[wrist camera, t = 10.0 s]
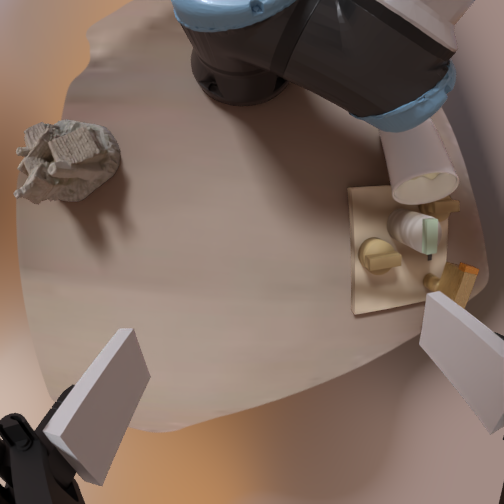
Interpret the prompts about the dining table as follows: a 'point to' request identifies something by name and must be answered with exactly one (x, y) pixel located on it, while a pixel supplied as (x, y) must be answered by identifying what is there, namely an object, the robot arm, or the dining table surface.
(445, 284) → the wing knob
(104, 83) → the dining table surface
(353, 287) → the beige square board
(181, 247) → the dining table surface
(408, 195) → the candle holder
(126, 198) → the dining table surface
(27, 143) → the ceramic cottage
